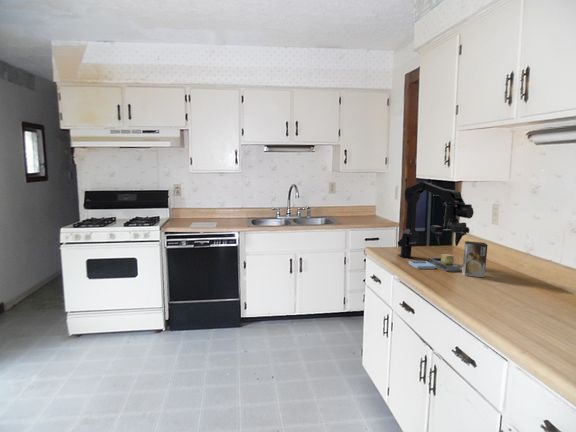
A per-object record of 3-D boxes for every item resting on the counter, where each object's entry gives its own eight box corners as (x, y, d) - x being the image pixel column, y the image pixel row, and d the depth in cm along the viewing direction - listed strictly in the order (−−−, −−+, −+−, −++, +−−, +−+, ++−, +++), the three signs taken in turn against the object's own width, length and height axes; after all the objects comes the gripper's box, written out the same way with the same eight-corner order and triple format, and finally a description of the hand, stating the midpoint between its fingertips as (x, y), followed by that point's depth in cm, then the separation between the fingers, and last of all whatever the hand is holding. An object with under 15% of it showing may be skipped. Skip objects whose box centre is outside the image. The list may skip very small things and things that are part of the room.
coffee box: (481, 274, 194) (485, 242, 191) (484, 277, 188) (488, 245, 185) (461, 272, 196) (464, 240, 194) (464, 275, 190) (467, 243, 187)
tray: (408, 263, 208) (408, 260, 208) (425, 263, 210) (426, 260, 210) (417, 268, 199) (417, 266, 198) (435, 268, 200) (435, 265, 200)
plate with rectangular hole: (428, 262, 213) (428, 257, 213) (440, 262, 215) (440, 257, 214) (446, 271, 196) (446, 266, 196) (459, 271, 197) (459, 266, 197)
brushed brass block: (440, 267, 204) (441, 254, 203) (447, 267, 205) (449, 254, 204) (444, 269, 200) (446, 256, 199) (452, 269, 201) (453, 256, 200)
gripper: (442, 217, 189) (439, 249, 191) (477, 218, 192) (474, 249, 194) (430, 214, 200) (427, 244, 202) (464, 215, 203) (461, 244, 205)
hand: (447, 245), depth 200 cm, fingers open, 9 cm apart
